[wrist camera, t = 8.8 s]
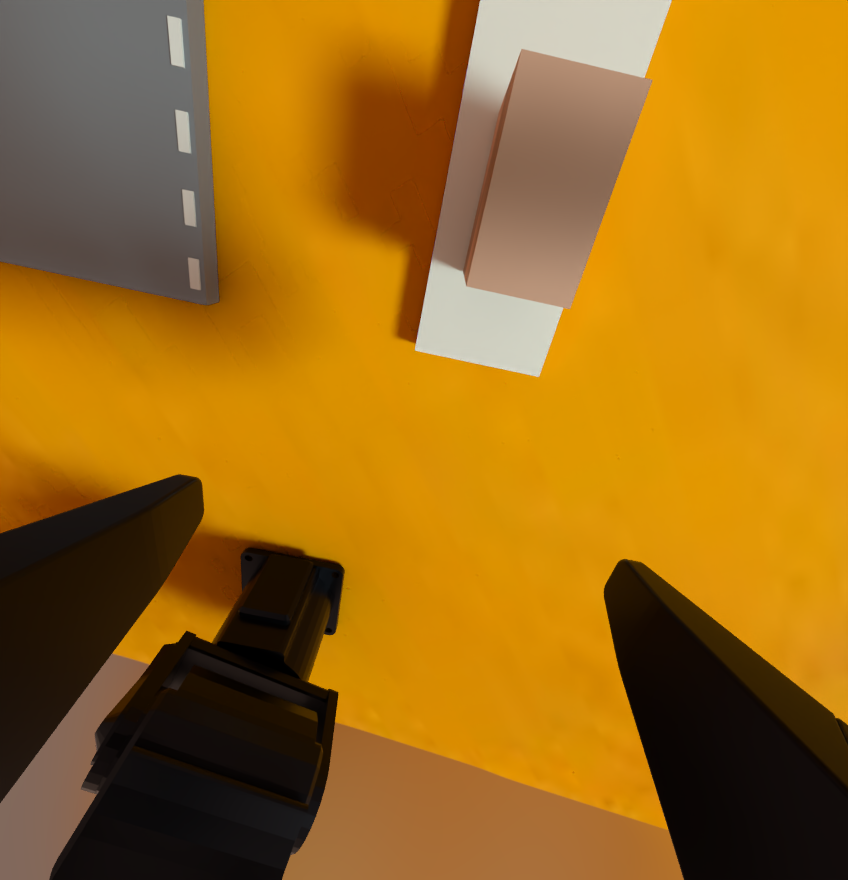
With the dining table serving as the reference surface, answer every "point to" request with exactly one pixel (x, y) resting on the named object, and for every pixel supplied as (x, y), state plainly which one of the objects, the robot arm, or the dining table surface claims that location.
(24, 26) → the board
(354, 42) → the dining table surface
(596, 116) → the stub
